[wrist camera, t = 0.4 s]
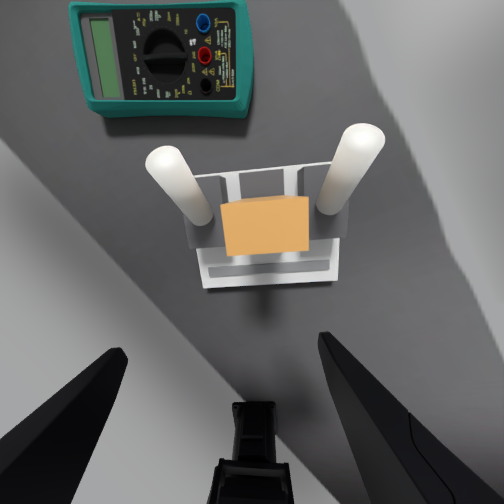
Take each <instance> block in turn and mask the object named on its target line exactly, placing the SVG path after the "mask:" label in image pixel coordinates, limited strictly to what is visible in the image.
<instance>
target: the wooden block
mask: <svg viewBox="0 0 504 504" xmlns="http://www.w3.org/2000/svg"><path fill="white" fill-rule="evenodd" d="M220 207H221V214H222V222H223V229H224V237H225V244H226V252H227V256H238V255H253V254H267V253H281V252H295V251H309V197H304V196H289V195H280V196H269V197H258V198H247V199H240V200H236V201H233V202H229V203H225V204H221V205H220Z"/></svg>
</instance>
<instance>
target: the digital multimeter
mask: <svg viewBox="0 0 504 504" xmlns="http://www.w3.org/2000/svg"><path fill="white" fill-rule="evenodd" d="M68 12H69V21H70V30H71V37H72V44H73V50H74V55H75V60H76V65H77V70H78V74H79V78H80V82H81V86H82V89H83V93H84V96H85V100H86V103H87V106H88V108H89V109H90V110H92V111H94V112H96V113H98V114H100V115H102V116H104V117H106V118H116V117H134V116H172V115H183V116H209V117H226V118H241V119H242V118H245V117H246V116H247V113H248V109H249V104H250V100H251V95H252V88H253V81H254V53H253V42H252V33H251V25H250V20H249V14H248V9H247V3H246V2H245V0H220V1H210V2H195V3H177V4H107V3H89V2H71V3H70V4H69V6H68ZM165 26H166V27H165ZM145 35H146V36H145ZM143 39H144V40H143ZM141 45H142V47H141ZM187 54H188V55H187ZM141 59H142V60H141Z"/></svg>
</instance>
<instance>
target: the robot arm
mask: <svg viewBox="0 0 504 504" xmlns="http://www.w3.org/2000/svg"><path fill="white" fill-rule="evenodd" d="M318 350H319V354H320V357H321V361H322V365H323V369H324V373H325V377H326V380H327V384H328V387H329V390H330V393H331V396H332V398H333V401H334V404H335V407H336V409H337V412H338V415H339V417H340V420H341V423H342V426H343V428H344V431H345V434H346V436H347V439H348V442H349V445H350V447H351V450H352V453H353V455H354V458H355V461H356V463H357V466H358V469H359V472H360V474H361V477H362V480H363V482H364V485H365V488H366V491H367V493H368V496H369V499H370V501H371V504H504V498H503V497H502V496H501V495H500V494H498V493H497V492H496V491H495V490H494V489H493V488H492V487H490V486H489V485H488V484H487V483H486V482H485V481H484V480H482V479H481V478H480V477H479V476H478V475H477V474H476V473H475V472H473V471H472V470H471V469H470V468H469V467H468V466H467V465H465V464H464V463H463V462H462V461H461V460H460V459H459V458H458V457H457V456H455V455H454V454H453V453H452V452H451V451H450V450H449V449H448V448H447V447H446V446H444V445H443V444H442V443H441V442H440V441H439V440H438V439H437V438H436V437H435V436H434V435H433V434H432V433H431V432H430V431H429V430H428V429H427V428H426V427H424V426H423V425H422V424H421V423H420V422H419V421H418V420H417V419H416V418H415V417H414V416H413V415H412V414H411V413H410V412H409V413H408V410H407V409H406V408H405V407H404V406H403V405H402V404H401V403H400V402H399V401H398V400H397V399H396V398H395V397H394V396H393V395H392V394H391V393H390V392H389V391H388V390H387V389H386V388H385V387H384V386H383V385H382V384H381V383H380V382H379V381H378V380H377V379H376V378H375V377H374V376H373V375H372V374H371V373H370V372H369V371H368V370H367V369H366V368H365V367H364V366H363V365H362V364H361V363H360V362H359V361H358V360H357V359H356V358H355V357H354V356H353V355H352V354H351V353H350V352H349V351H348V350H347V349H346V348H345V347H344V346H343V345H342V344H341V343H340V342H339V341H338V340H337V339H336V338H335V337H334V336H333V335H332V334H331V333H330V332H320V333H319V338H318ZM127 364H128V358H127V356H126V354H125V353H124V351H123V350H122V349H121V348H120V347H118V348H111V349H109V350H108V351H106V352H105V353H104V354H103V355H102V356H100V357H99V358H98V359H97V360H95V361H94V362H93V363H92V364H91V365H89V366H88V367H87V368H86V369H85V370H83V371H82V372H81V373H80V374H78V375H77V376H76V377H75V378H74V379H72V380H71V381H70V382H69V383H67V384H66V385H65V386H64V387H63V388H61V389H60V390H59V391H58V392H57V393H56V394H54V395H53V396H52V397H51V398H49V399H48V400H47V401H46V402H44V403H43V404H42V405H41V406H40V407H38V408H37V409H36V410H35V411H34V412H33V413H31V414H30V415H29V416H27V417H26V418H25V419H24V420H23V421H21V422H20V423H19V424H18V425H16V426H15V427H14V428H13V429H12V430H11V431H9V432H8V433H7V434H6V435H4V436H3V437H2V438H1V439H0V504H71V502H72V500H73V497H74V495H75V493H76V490H77V488H78V486H79V483H80V481H81V479H82V476H83V474H84V472H85V470H86V467H87V465H88V463H89V460H90V458H91V456H92V453H93V451H94V448H95V446H96V444H97V442H98V439H99V437H100V435H101V432H102V430H103V428H104V426H105V423H106V421H107V419H108V416H109V414H110V412H111V409H112V407H113V404H114V402H115V399H116V396H117V394H118V391H119V388H120V385H121V382H122V379H123V376H124V373H125V369H126V367H127ZM232 411H233V417H234V423H235V437H234V446H233V454H232V460H225V459H224V458H220V459H219V464H218V466H216V467H215V470H214V476H213V481H212V486H211V490H210V494H209V497H208V500H207V504H294V498H293V492H292V484H291V477H290V470H289V464H288V463H284V464H283V463H276V449H275V435H276V434H277V433H278V431H277V417H276V404H275V402H234V403H233V404H232Z"/></svg>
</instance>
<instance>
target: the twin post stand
mask: <svg viewBox="0 0 504 504" xmlns="http://www.w3.org/2000/svg"><path fill="white" fill-rule="evenodd" d="M384 143H385V136H384V134H383V132H382V131H381V130H380V129H379V128H377V127H375V126H373V125H370V124H365V123H360V124H355V125H352V126H350V127H348V128H347V129H346V130H345V132H344V133H343V136H342V138H341V141H340V143H339V146H338V148H337V151H336V153H335V156H334V158H333V161H332V162H322V163H313V164H303V165H293V166H283V167H274V168H264V169H254V170H245V171H235V172H225V173H215V174H206V175H196V176H193V175H192V173H191V171H190V169H189V167H188V166H187V164H186V162H185V160H184V158H183V157H182V155H181V153H180V151H179V150H178V149H177V148H175V147H172V146H162V147H159V148H157V149H155V150H154V151H152V152H151V153H150V154H149V156H148V157H147V159H146V164H145V165H146V169H147V171H148V172H149V173H150V174H151V175H152V177H153V178H154V179H155V180H156V181H157V182H158V184H159V185H160V186H161V187H162V188H163V189H164V191H165V192H166V193H167V194H168V195H169V196H170V198H171V199H172V200H173V201H174V202H175V204H176V205H177V206H178V207H179V208H180V209H181V211H182V212H183V218H184V223H185V228H186V233H187V239H188V244H189V249H196V250H197V255H198V261H199V267H200V272H201V278H202V283H203V288H215V287H232V286H249V285H266V284H283V283H300V282H317V281H334V280H338V258H339V238H346V237H347V231H348V212H349V197H350V195H351V194H352V192H353V191H354V189H355V188H356V186H357V185H358V183H359V182H360V180H361V179H362V177H363V176H364V174H365V173H366V171H367V170H368V168H369V167H370V165H371V164H372V162H373V161H374V159H375V158H376V156H377V155H378V153H379V152H380V150H381V149H382V147H383V146H384ZM280 195H289V196H304V197H309V251H295V252H281V253H267V254H253V255H238V256H227V252H226V244H225V237H224V229H223V222H222V214H221V207H220V205H221V204H225V203H229V202H233V201H236V200H240V199H247V198H258V197H269V196H280Z"/></svg>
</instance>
